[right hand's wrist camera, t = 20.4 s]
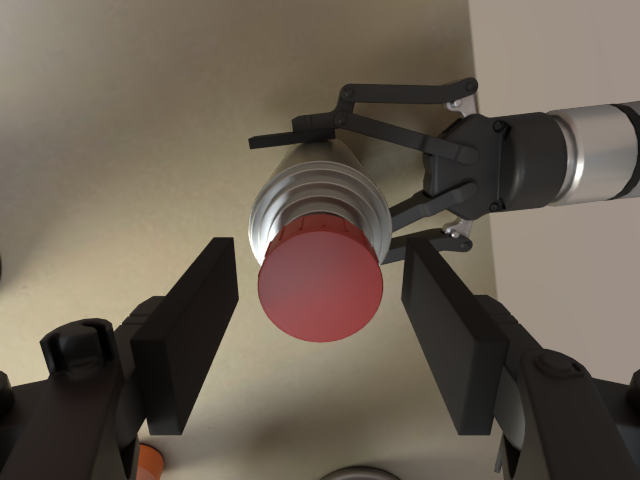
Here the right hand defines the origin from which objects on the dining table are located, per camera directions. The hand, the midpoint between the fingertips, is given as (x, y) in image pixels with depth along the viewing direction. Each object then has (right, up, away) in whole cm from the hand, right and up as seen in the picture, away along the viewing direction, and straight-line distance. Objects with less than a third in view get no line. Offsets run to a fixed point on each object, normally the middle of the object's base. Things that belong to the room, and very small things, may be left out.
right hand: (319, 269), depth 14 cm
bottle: (0, +8, +21) cm, 23 cm away
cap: (0, -1, -1) cm, 1 cm away
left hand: (-5, +5, +16) cm, 17 cm away
